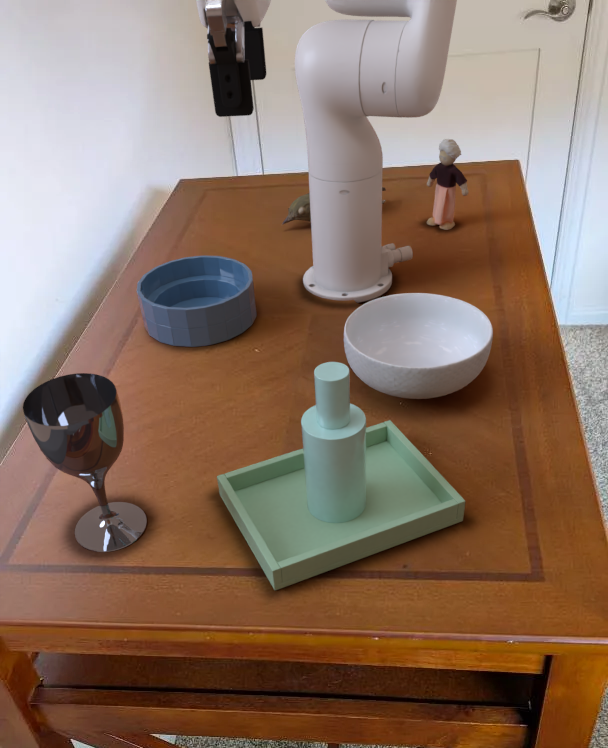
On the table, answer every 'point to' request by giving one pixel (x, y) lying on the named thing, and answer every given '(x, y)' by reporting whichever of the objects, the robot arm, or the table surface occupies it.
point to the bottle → (334, 448)
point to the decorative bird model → (303, 209)
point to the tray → (338, 540)
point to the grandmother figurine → (446, 185)
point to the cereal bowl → (417, 344)
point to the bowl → (197, 300)
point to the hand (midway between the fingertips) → (242, 96)
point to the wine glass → (86, 450)
